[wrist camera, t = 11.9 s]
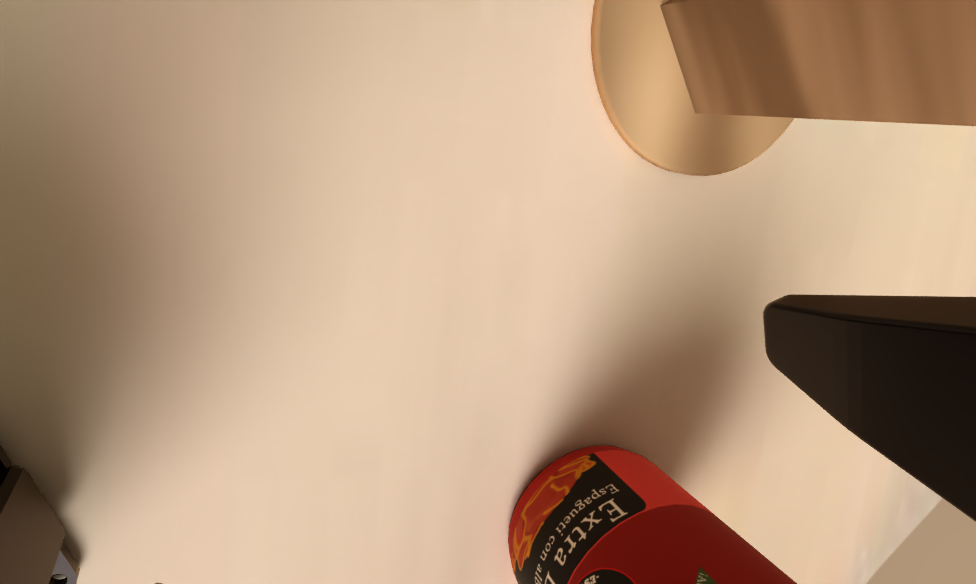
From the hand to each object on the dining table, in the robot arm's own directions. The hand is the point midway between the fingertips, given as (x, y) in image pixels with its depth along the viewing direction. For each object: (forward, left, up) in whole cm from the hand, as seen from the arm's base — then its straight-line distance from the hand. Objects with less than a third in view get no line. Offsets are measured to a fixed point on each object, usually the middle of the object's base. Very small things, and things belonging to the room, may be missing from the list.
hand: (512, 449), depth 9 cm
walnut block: (+15, +3, -12) cm, 20 cm away
